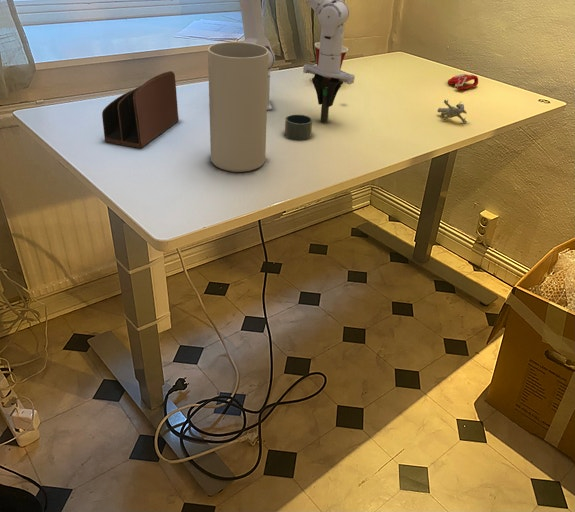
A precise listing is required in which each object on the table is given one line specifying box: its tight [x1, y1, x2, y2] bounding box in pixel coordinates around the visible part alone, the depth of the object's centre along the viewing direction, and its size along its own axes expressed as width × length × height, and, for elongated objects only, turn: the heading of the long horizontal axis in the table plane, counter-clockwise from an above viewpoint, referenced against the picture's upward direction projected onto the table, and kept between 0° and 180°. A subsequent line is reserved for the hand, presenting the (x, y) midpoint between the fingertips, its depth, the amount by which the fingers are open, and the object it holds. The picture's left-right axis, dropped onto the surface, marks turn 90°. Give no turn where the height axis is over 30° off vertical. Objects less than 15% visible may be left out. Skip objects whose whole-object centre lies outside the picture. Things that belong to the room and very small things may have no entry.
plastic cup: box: [314, 41, 349, 81], centre depth 177 cm, size 11×11×12 cm
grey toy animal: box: [437, 99, 468, 124], centre depth 156 cm, size 10×6×9 cm
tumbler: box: [284, 114, 313, 141], centre depth 142 cm, size 7×7×4 cm
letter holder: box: [101, 70, 180, 149], centre depth 136 cm, size 10×20×14 cm, turn 163°
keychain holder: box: [447, 73, 479, 90], centre depth 184 cm, size 12×4×10 cm
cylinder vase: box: [207, 41, 269, 173], centre depth 121 cm, size 12×12×25 cm
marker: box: [319, 88, 330, 124], centre depth 149 cm, size 2×2×9 cm
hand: (325, 104), depth 149 cm, fingers closed on marker, 2 cm apart
